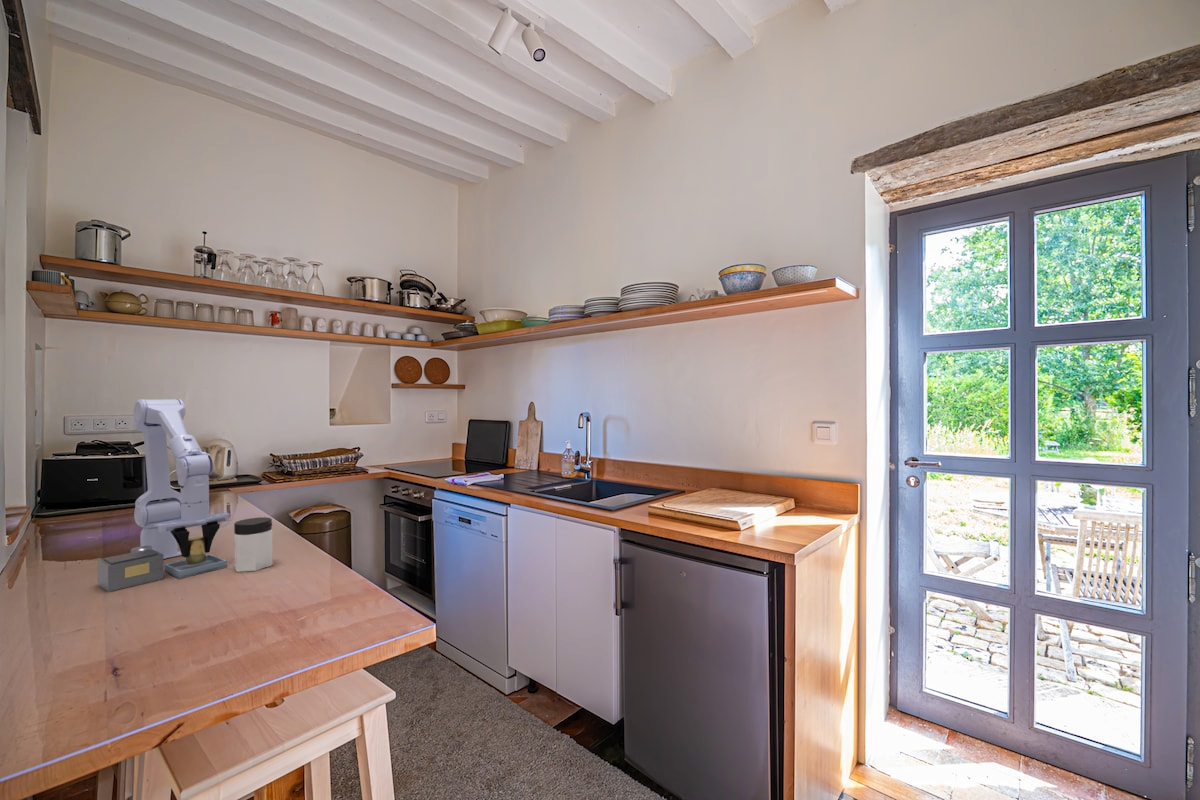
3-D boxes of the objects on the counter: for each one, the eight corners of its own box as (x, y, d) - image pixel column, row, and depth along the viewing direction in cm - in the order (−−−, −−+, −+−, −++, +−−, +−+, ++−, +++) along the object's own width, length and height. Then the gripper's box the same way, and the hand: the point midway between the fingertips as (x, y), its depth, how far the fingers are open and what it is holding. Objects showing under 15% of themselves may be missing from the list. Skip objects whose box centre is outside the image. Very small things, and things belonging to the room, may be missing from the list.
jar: (274, 567, 132) (274, 521, 132) (236, 574, 127) (235, 526, 127) (270, 559, 139) (269, 515, 139) (233, 565, 134) (233, 520, 134)
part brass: (184, 562, 131) (183, 539, 131) (203, 558, 134) (202, 535, 134) (188, 565, 128) (188, 542, 128) (208, 561, 131) (207, 538, 131)
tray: (164, 571, 129) (164, 564, 129) (211, 560, 138) (210, 554, 138) (179, 578, 124) (179, 571, 124) (226, 567, 132) (226, 560, 132)
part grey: (128, 572, 129) (128, 548, 129) (149, 567, 133) (148, 544, 133) (134, 575, 127) (133, 551, 127) (154, 570, 131) (154, 547, 131)
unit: (97, 584, 120) (97, 558, 120) (151, 572, 129) (151, 547, 129) (108, 592, 116) (108, 564, 116) (164, 578, 124) (163, 553, 124)
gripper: (165, 508, 123) (166, 564, 123) (234, 498, 135) (234, 549, 135) (154, 505, 126) (155, 559, 127) (222, 495, 139) (223, 545, 139)
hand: (195, 554), depth 131 cm, fingers closed on part brass, 4 cm apart
